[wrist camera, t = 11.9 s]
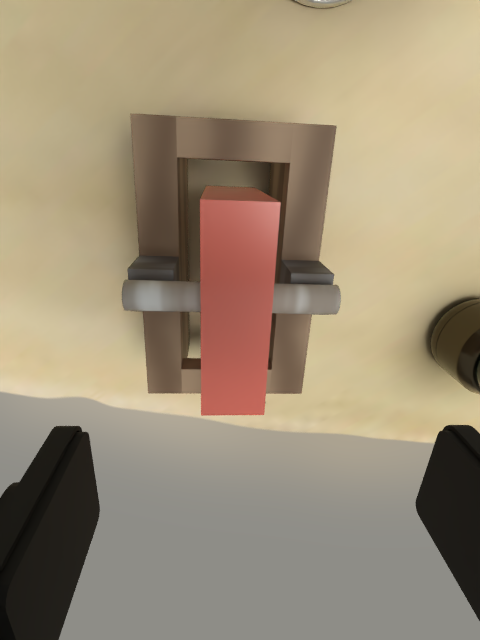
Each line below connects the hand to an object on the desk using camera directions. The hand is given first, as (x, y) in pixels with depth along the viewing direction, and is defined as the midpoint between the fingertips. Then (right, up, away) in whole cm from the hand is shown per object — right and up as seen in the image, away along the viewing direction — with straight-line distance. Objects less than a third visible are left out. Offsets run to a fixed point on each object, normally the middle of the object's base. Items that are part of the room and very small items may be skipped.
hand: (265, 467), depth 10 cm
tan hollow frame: (-2, +11, +28) cm, 30 cm away
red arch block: (-2, +9, +23) cm, 24 cm away
